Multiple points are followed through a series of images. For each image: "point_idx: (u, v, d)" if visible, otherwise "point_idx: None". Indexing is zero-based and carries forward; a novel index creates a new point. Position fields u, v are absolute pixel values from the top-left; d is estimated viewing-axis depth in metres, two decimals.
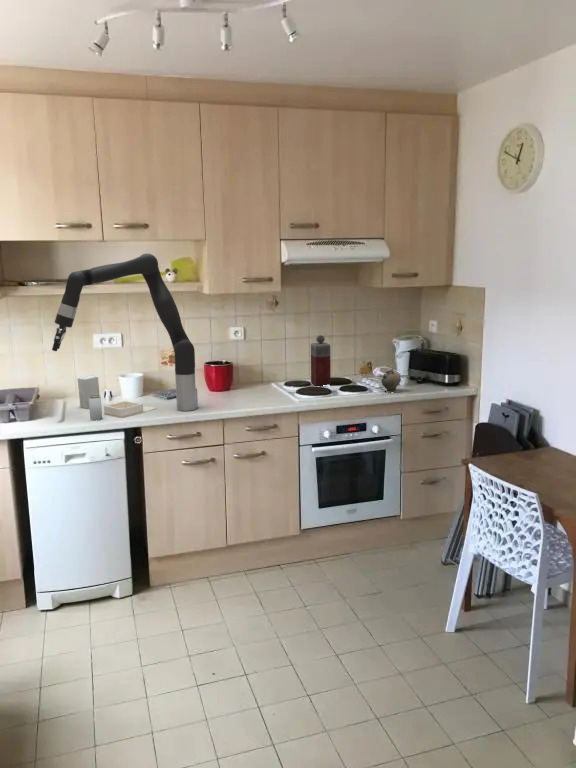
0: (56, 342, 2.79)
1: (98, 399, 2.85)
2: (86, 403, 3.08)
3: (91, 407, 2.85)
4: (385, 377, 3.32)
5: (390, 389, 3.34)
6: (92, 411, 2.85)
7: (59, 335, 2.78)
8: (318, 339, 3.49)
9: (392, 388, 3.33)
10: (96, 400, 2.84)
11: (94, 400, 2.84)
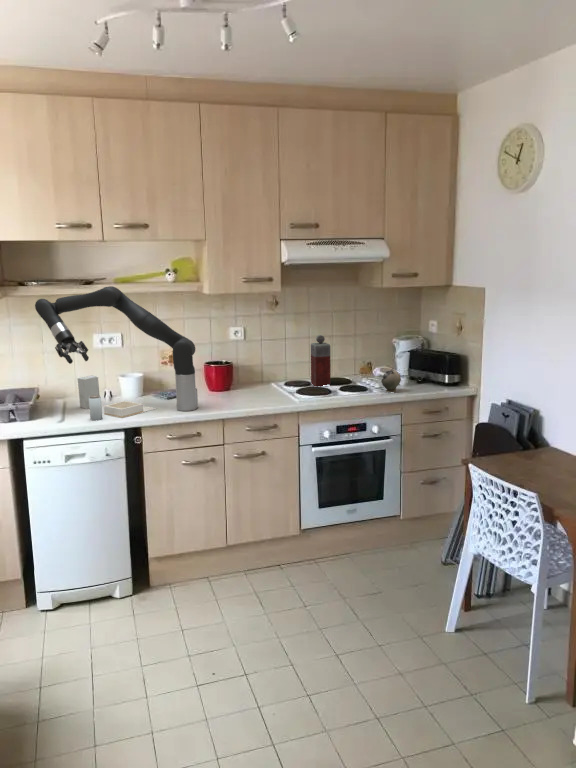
0: (64, 356, 2.88)
1: (98, 399, 2.85)
2: (86, 403, 3.08)
3: (91, 407, 2.85)
4: (385, 377, 3.32)
5: (390, 389, 3.34)
6: (92, 411, 2.85)
7: (58, 350, 2.88)
8: (318, 339, 3.49)
9: (392, 388, 3.33)
10: (96, 400, 2.84)
11: (94, 400, 2.84)
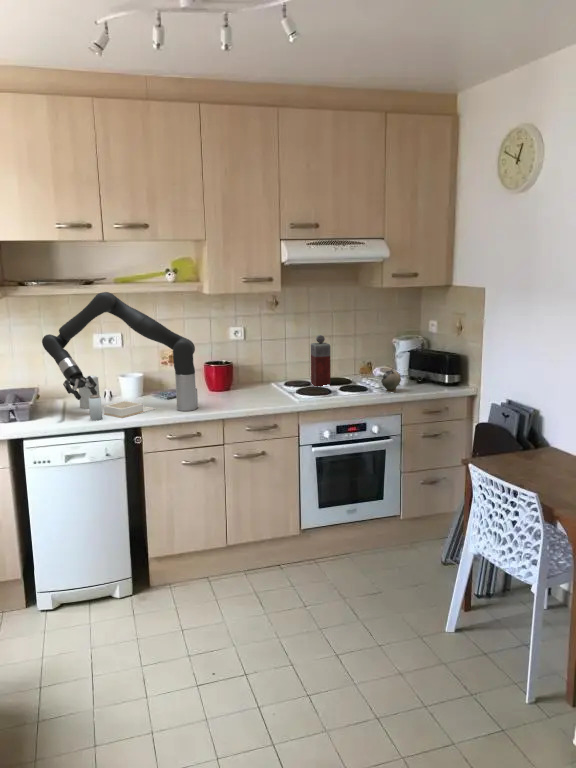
0: (72, 392, 2.86)
1: (98, 399, 2.85)
2: (86, 403, 3.08)
3: (91, 407, 2.85)
4: (385, 377, 3.32)
5: (390, 389, 3.34)
6: (92, 411, 2.85)
7: (66, 386, 2.86)
8: (318, 339, 3.49)
9: (392, 388, 3.33)
10: (96, 400, 2.84)
11: (94, 400, 2.84)
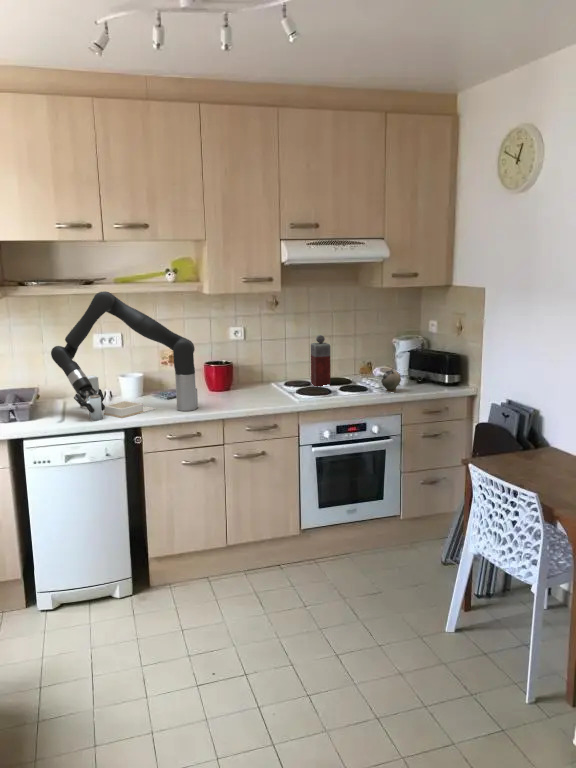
0: (85, 405, 2.84)
1: (98, 399, 2.85)
2: None
3: None
4: (385, 377, 3.32)
5: (390, 389, 3.34)
6: None
7: (78, 400, 2.83)
8: (318, 339, 3.49)
9: (392, 388, 3.33)
10: (96, 400, 2.84)
11: (94, 400, 2.84)
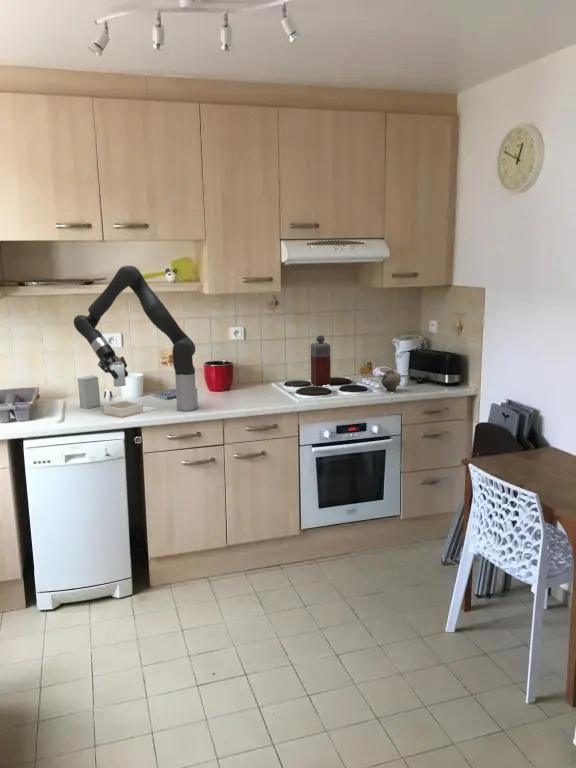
0: (109, 371, 2.90)
1: (121, 365, 2.91)
2: (86, 403, 3.08)
3: None
4: (385, 377, 3.32)
5: (390, 389, 3.34)
6: None
7: (102, 366, 2.89)
8: (318, 339, 3.49)
9: (392, 388, 3.33)
10: (120, 366, 2.90)
11: (118, 366, 2.90)
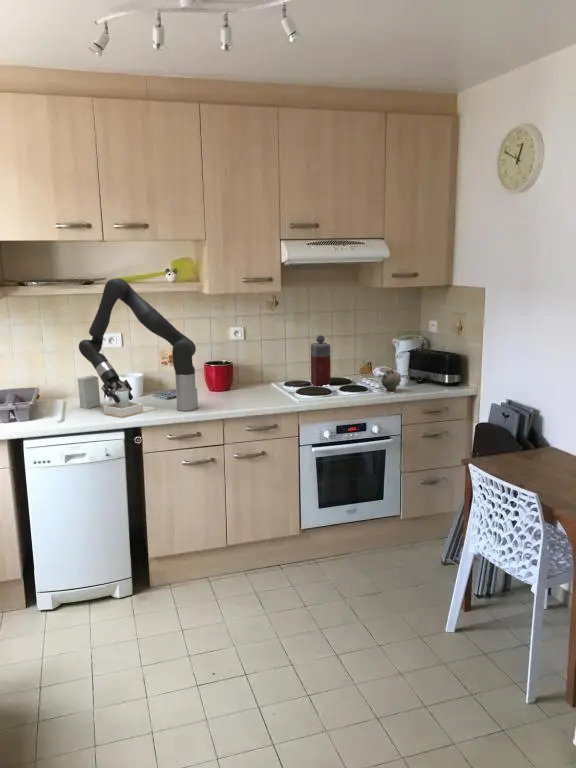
0: (112, 396, 2.93)
1: (126, 392, 2.95)
2: (86, 403, 3.08)
3: None
4: (385, 377, 3.32)
5: (390, 389, 3.34)
6: (119, 404, 2.95)
7: (105, 390, 2.93)
8: (318, 339, 3.49)
9: (392, 388, 3.33)
10: (124, 393, 2.94)
11: (122, 393, 2.94)
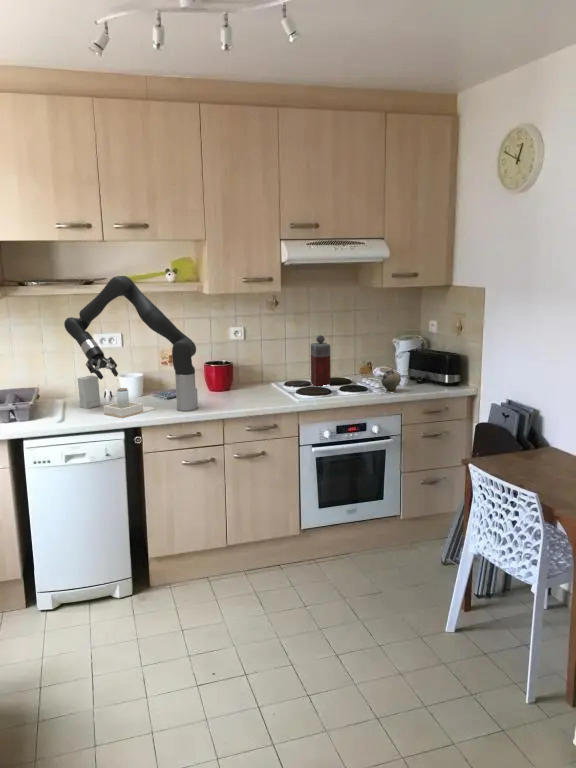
0: (95, 372, 2.97)
1: (126, 392, 2.95)
2: (86, 403, 3.08)
3: (119, 400, 2.95)
4: (385, 377, 3.32)
5: (390, 389, 3.34)
6: (119, 404, 2.95)
7: (89, 366, 2.96)
8: (318, 339, 3.49)
9: (392, 388, 3.33)
10: (124, 393, 2.94)
11: (122, 393, 2.94)
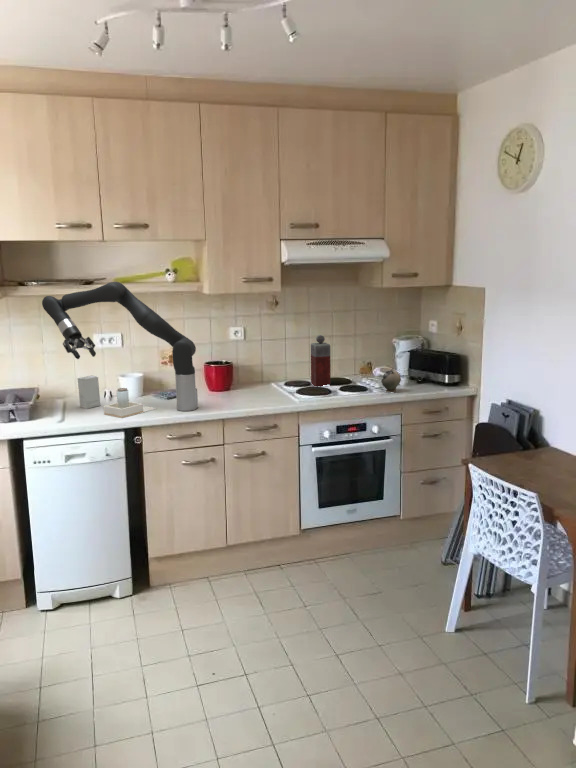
0: (72, 351, 2.91)
1: (126, 392, 2.95)
2: (86, 403, 3.08)
3: (119, 400, 2.95)
4: (385, 377, 3.32)
5: (390, 389, 3.34)
6: (119, 404, 2.95)
7: (66, 345, 2.91)
8: (318, 339, 3.49)
9: (392, 388, 3.33)
10: (124, 393, 2.94)
11: (122, 393, 2.94)
